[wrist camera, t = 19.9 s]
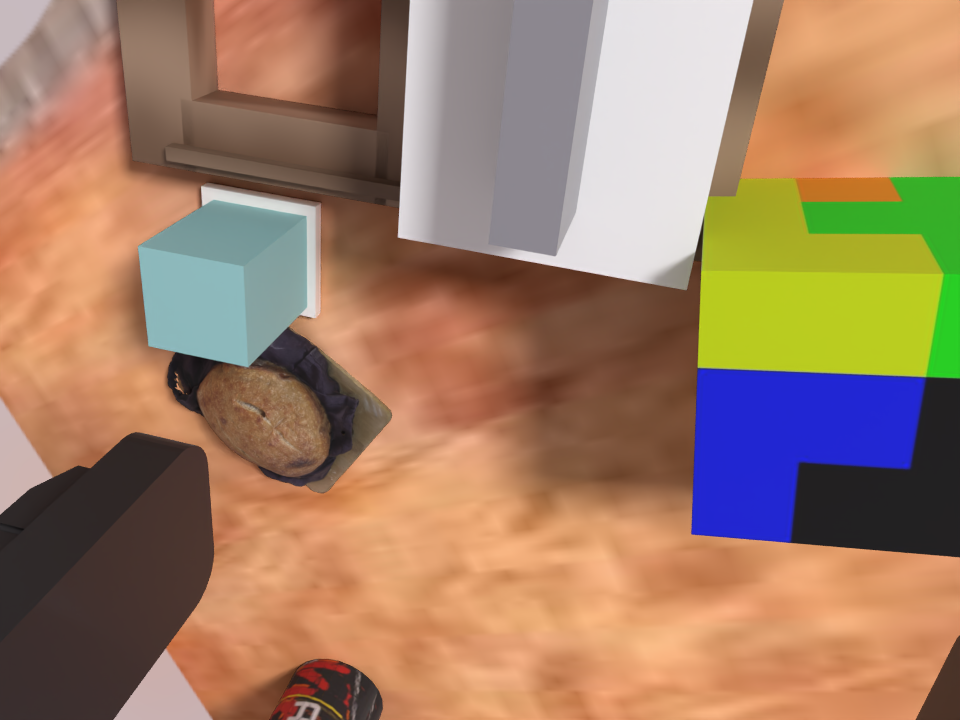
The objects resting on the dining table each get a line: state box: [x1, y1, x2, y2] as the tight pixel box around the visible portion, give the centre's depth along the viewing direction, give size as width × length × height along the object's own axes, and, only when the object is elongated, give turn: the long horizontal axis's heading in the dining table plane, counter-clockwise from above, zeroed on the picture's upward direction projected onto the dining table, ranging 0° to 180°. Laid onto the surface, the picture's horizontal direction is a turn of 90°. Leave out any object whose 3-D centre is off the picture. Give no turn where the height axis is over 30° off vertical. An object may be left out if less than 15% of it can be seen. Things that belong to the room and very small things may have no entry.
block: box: [138, 200, 307, 367], centre depth 38 cm, size 4×4×6 cm
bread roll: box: [167, 327, 392, 493], centre depth 44 cm, size 11×8×4 cm
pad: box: [201, 183, 321, 318], centre depth 41 cm, size 6×6×1 cm
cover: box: [398, 0, 753, 290], centre depth 27 cm, size 14×10×9 cm
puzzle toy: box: [691, 177, 960, 557], centre depth 32 cm, size 10×10×10 cm
